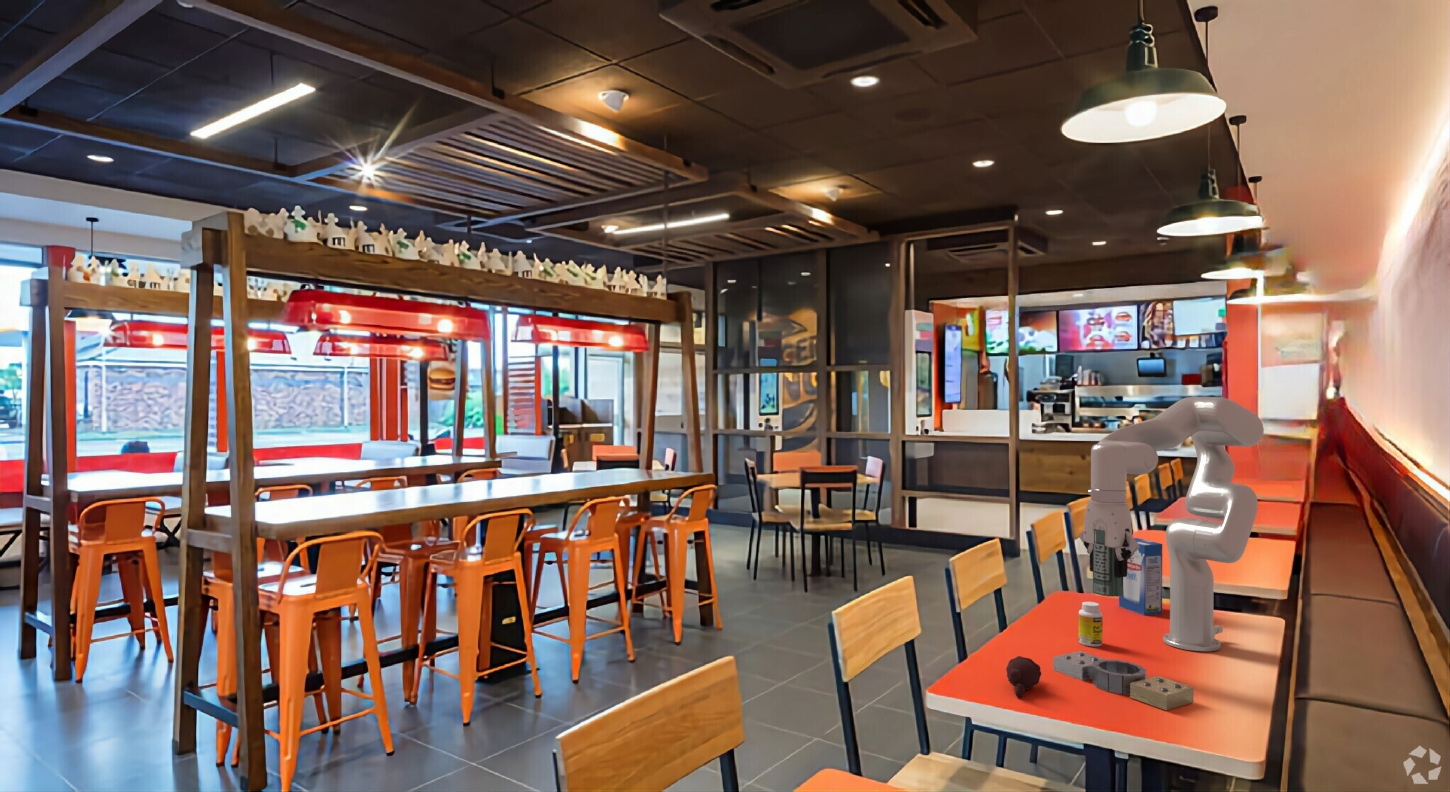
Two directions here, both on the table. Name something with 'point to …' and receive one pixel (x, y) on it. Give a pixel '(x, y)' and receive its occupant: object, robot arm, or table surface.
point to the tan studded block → (1161, 692)
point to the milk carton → (1143, 580)
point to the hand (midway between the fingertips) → (1108, 573)
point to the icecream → (1023, 674)
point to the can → (1105, 568)
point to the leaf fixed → (1100, 671)
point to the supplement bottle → (1090, 624)
